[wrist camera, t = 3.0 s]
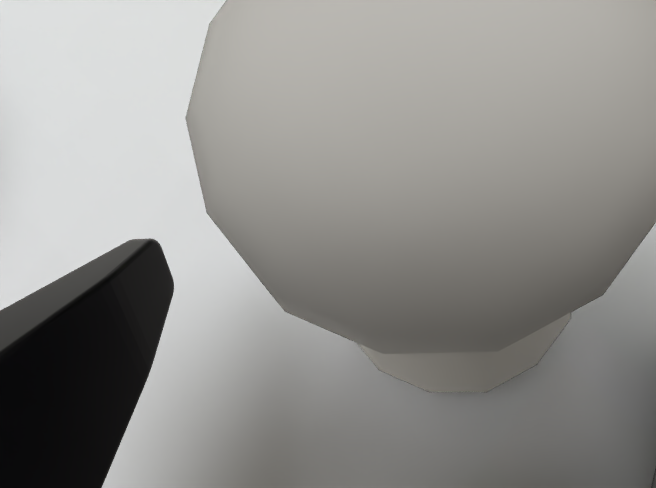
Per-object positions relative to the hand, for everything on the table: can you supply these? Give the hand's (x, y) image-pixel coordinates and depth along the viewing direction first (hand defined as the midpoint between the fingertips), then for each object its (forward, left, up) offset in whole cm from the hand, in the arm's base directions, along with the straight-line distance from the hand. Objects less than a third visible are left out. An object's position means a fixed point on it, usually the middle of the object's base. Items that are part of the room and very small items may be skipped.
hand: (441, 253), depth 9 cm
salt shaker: (0, -1, -8) cm, 9 cm away
